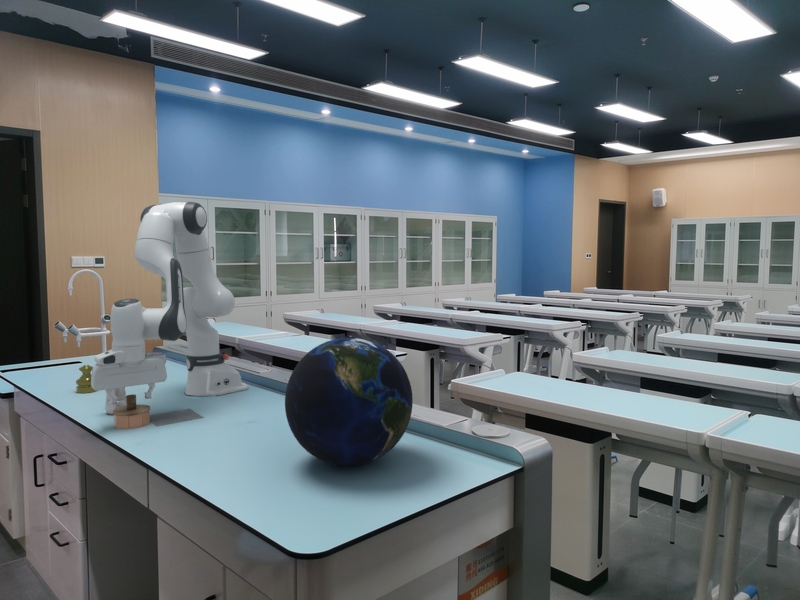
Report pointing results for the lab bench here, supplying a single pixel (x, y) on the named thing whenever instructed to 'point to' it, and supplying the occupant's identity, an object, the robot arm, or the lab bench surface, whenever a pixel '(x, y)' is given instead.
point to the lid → (131, 407)
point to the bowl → (131, 421)
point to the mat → (174, 417)
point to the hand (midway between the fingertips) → (131, 400)
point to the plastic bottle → (120, 400)
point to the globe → (348, 401)
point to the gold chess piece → (85, 380)
